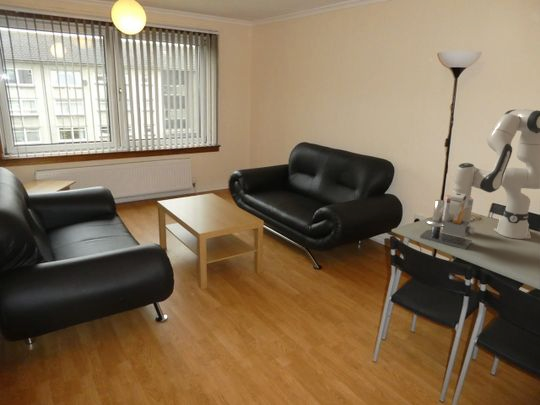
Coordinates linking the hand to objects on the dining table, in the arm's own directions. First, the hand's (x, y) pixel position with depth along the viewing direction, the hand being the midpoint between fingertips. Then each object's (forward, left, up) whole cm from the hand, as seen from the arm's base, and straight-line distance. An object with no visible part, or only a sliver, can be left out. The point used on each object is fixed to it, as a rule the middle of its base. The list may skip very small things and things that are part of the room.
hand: (457, 218), depth 212 cm
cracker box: (-19, -5, -14) cm, 24 cm away
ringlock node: (0, -4, -14) cm, 14 cm away
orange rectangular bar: (0, 0, -6) cm, 6 cm away
